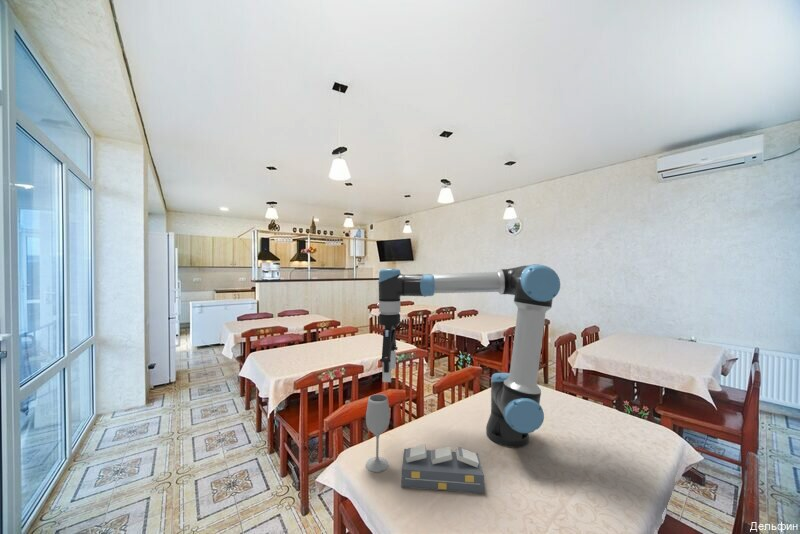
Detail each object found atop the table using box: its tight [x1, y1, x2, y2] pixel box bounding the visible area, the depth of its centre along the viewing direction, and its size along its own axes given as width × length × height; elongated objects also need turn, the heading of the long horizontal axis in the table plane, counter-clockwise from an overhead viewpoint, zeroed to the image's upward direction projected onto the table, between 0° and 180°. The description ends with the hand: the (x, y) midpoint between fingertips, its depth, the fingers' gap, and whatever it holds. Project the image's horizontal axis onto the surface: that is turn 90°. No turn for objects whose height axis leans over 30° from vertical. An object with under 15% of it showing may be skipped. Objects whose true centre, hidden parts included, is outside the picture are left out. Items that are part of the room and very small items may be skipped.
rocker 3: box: [455, 446, 479, 467], centre depth 87 cm, size 6×4×2 cm
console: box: [400, 448, 485, 494], centre depth 88 cm, size 23×10×5 cm, turn 85°
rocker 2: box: [431, 445, 453, 464], centre depth 88 cm, size 6×4×2 cm
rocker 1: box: [406, 444, 428, 463], centre depth 89 cm, size 6×4×2 cm
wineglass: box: [365, 393, 391, 473], centre depth 94 cm, size 8×8×21 cm
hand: (389, 374), depth 102 cm, fingers open, 13 cm apart
